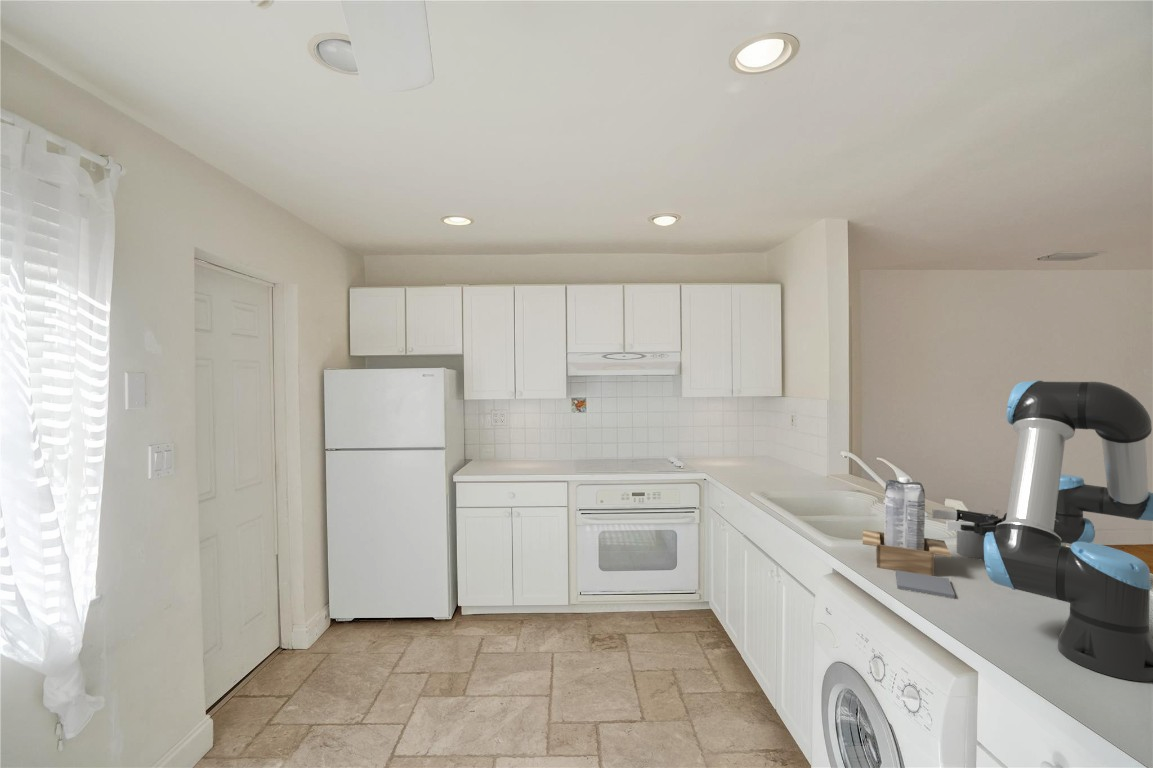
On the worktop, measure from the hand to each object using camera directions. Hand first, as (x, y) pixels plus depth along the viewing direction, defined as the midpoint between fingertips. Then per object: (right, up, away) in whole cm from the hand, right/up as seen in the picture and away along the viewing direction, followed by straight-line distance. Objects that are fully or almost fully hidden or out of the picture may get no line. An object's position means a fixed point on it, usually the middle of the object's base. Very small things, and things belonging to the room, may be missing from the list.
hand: (939, 519), depth 162 cm
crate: (-9, -15, +3) cm, 18 cm away
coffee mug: (+22, -15, +11) cm, 29 cm away
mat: (-14, -15, -13) cm, 25 cm away
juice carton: (-9, -15, +3) cm, 18 cm away
